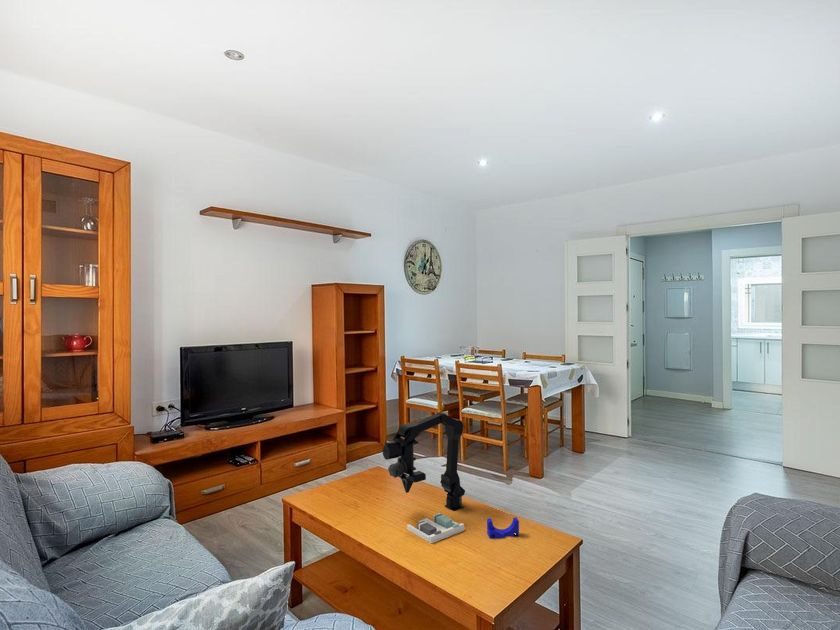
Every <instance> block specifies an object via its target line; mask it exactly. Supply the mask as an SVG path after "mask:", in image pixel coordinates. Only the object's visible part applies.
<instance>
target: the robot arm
mask: <svg viewBox="0 0 840 630" xmlns="http://www.w3.org/2000/svg"><path fill="white" fill-rule="evenodd" d="M440 424H441V425H443V426H444V430H445V431H444V432H445V435H446V437H447V446H446V447H447V448H446V449H447V451H446V465H445V471H444V473H441V475H440V484H441V485H440V486H441V487H442V489H443V490H444V493H446V499H445V500H446V502H445V504H444V508H447V509H449V510H451V511H453V512H455V511H457V510H460V509H463V508H465V506H464V505H463V501H462V500H463V496H465V492H466V490H465V489H464V488H463V487H462V486H461V479H460V476H459V474H458V460H459V459H458V457H459V446H460V445H459V442H460V441H459V440H460V439H461V437H462V435H463V431H464V427H465V426H464V422H463V421H462V420H461V419H457V418H453V417H451V416H449V415H447V413H444V412H441V411H438V412H436V413H435V414H433V415H430V416H428V417H425V418H423V419H420V420H419V421H415V422H410V423H403V424H401V425H400V426H399V427H398V430H397V432H396V434H395V436H394V437H393V439H392V441H387V442H384V446H383V447H382V456H383V459H384V460H387V461H388V460H392V459H397V462H395V463H391V464H390V465H389V467H388V468H387V470H388V473H389V476H390V477H393V478H395V479H396V478H399V479H400V480H401V482H402V485H403V489H404V491H405V493H406V494H407V493H409V492H410V490H411V488H412V486H413V484H414V483H419V482H423V481H425V480H427V474H426V473H425V472H423V471H420V470H417V467H415V461H417V458H416V457H415V453H414V452H415V451H414V449H415V448H414V447H415V446H414V445H418V444H419V442H418V441H417V440H416V438H418V437H419V435H420V434H421V433H423V432H424V431H427V430H429V429H431V428H434V427H436V426H438V425H440Z"/></svg>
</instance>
